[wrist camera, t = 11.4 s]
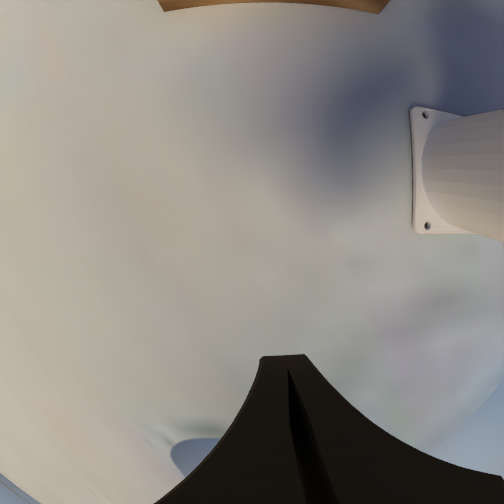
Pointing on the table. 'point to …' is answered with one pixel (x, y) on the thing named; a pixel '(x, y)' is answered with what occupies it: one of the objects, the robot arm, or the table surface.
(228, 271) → the table surface
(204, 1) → the jig
